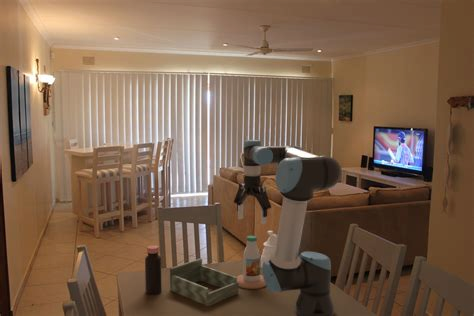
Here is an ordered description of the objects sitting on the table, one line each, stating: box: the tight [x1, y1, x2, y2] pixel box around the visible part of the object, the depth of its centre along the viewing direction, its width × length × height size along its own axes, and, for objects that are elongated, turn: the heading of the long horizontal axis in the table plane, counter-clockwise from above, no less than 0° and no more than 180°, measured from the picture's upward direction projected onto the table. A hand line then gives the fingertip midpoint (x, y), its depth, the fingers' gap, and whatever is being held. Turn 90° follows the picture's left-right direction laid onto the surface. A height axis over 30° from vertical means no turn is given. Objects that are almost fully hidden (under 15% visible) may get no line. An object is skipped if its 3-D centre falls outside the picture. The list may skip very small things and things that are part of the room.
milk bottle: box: [242, 235, 261, 282], centre depth 207 cm, size 8×8×20 cm
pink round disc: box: [236, 273, 267, 290], centre depth 208 cm, size 15×15×2 cm
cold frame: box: [169, 257, 240, 307], centre depth 197 cm, size 24×18×10 cm
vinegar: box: [144, 244, 162, 295], centre depth 196 cm, size 7×7×20 cm
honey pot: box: [260, 230, 278, 269], centre depth 229 cm, size 13×13×18 cm
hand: (251, 221), depth 205 cm, fingers open, 13 cm apart
